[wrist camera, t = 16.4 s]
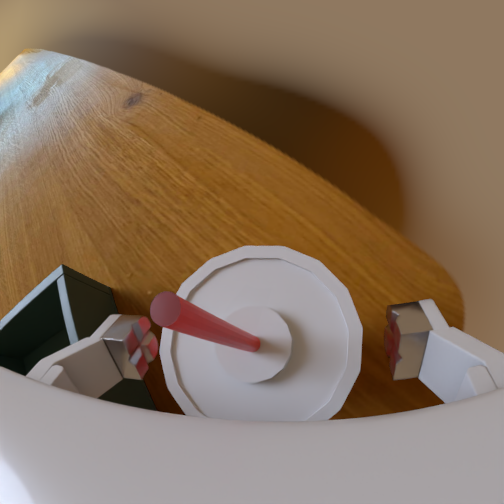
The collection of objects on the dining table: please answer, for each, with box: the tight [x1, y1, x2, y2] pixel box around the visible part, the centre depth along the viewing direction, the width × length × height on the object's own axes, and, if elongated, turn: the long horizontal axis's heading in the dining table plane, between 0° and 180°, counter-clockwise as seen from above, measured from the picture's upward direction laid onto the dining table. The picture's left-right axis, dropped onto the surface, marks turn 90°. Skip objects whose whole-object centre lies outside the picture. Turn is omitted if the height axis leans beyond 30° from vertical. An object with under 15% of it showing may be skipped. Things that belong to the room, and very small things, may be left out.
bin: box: [0, 264, 157, 411], centre depth 16 cm, size 14×14×5 cm
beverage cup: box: [150, 246, 363, 421], centre depth 10 cm, size 6×6×14 cm
